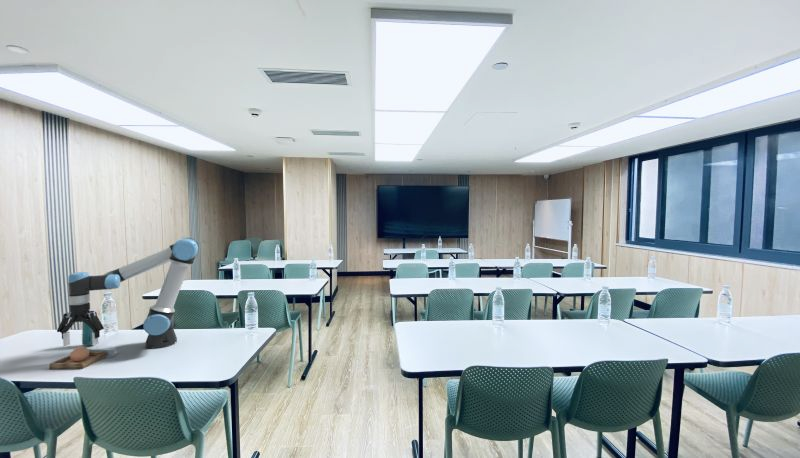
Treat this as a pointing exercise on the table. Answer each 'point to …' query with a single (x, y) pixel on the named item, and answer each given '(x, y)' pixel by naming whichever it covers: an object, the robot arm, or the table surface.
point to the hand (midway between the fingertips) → (81, 344)
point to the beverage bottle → (86, 333)
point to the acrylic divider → (109, 351)
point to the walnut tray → (70, 364)
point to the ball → (79, 354)
